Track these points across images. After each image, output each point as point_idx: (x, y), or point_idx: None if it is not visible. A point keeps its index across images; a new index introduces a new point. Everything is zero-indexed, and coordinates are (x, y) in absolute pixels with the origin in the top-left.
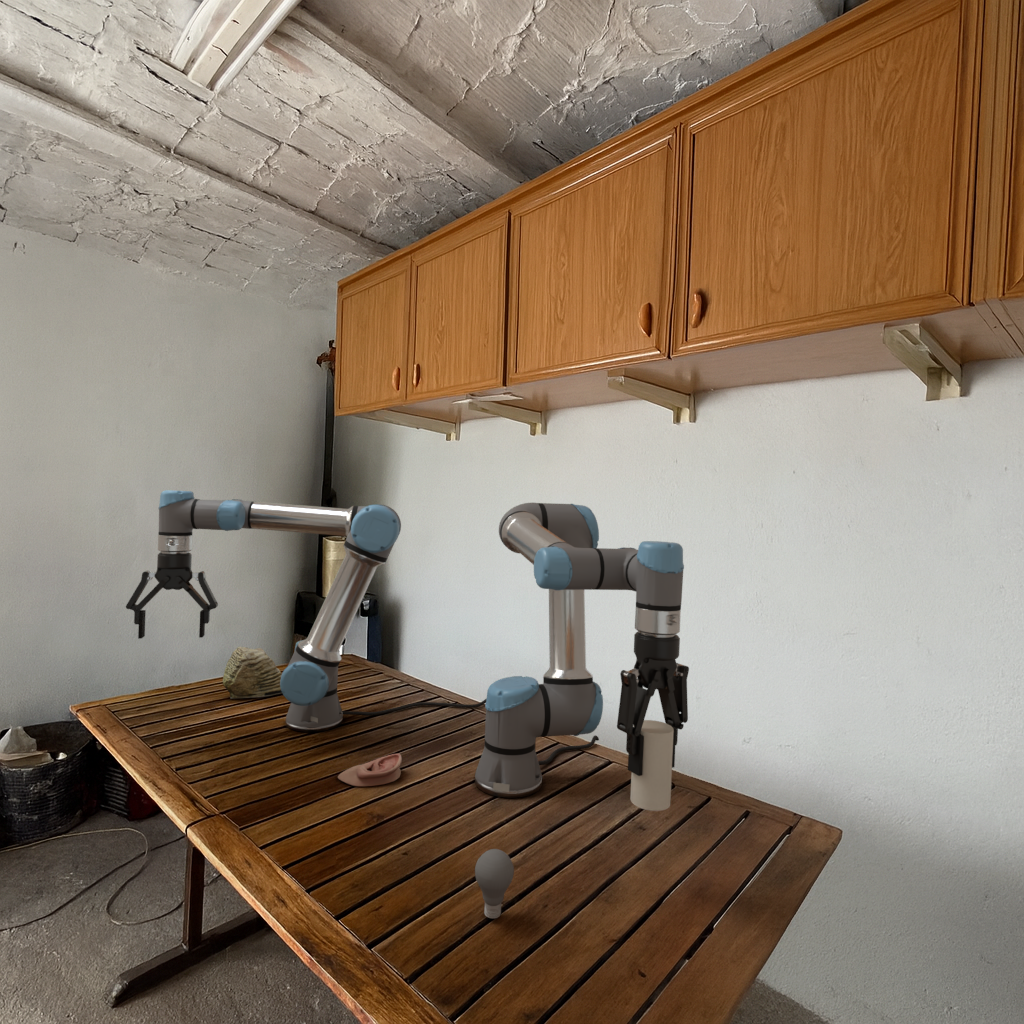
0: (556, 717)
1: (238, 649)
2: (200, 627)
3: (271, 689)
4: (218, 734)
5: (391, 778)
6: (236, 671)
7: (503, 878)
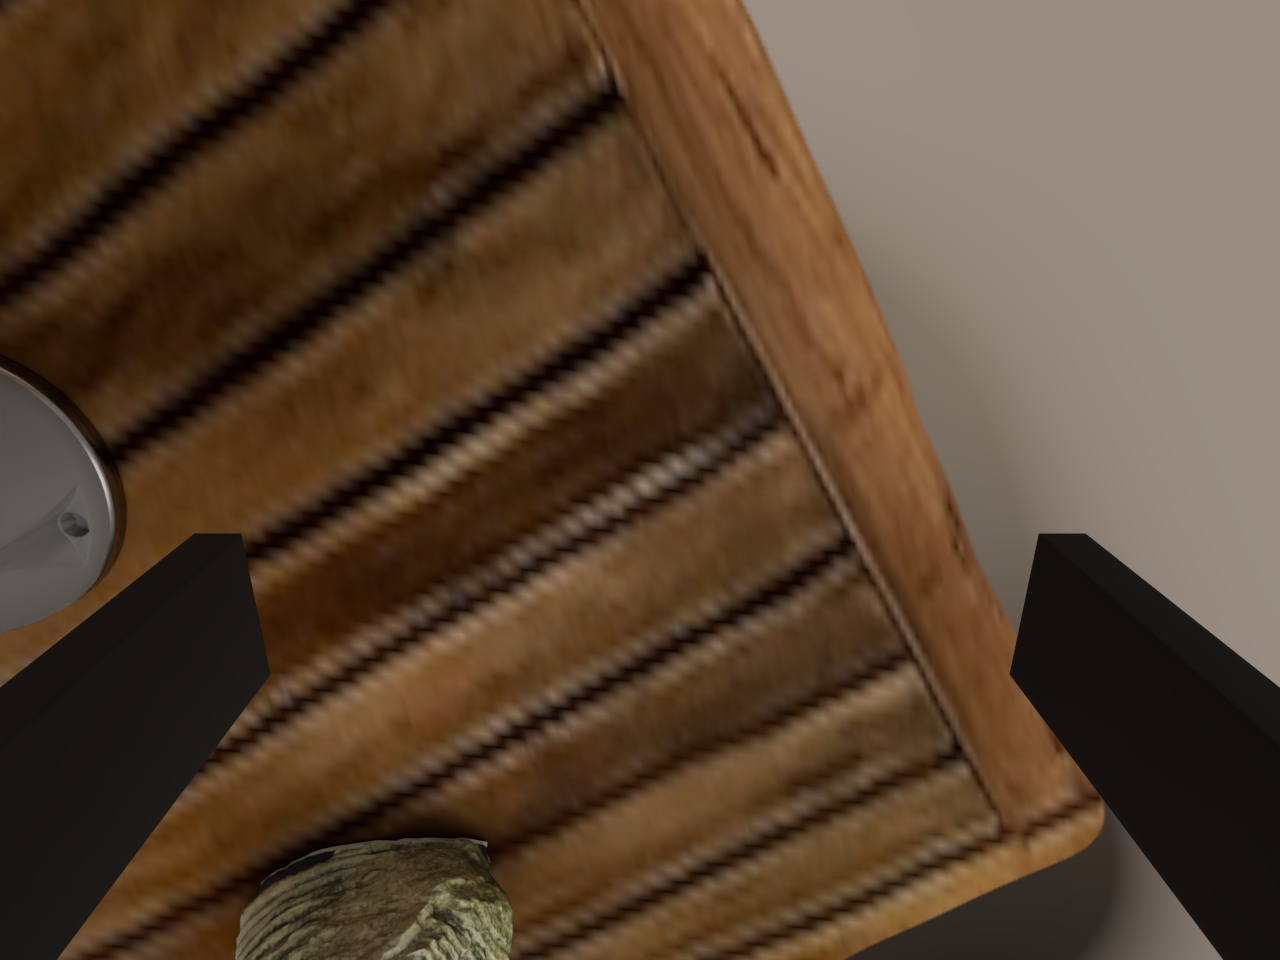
0: None
1: None
2: (132, 618)
3: (297, 882)
4: (422, 395)
5: None
6: (417, 941)
7: None
